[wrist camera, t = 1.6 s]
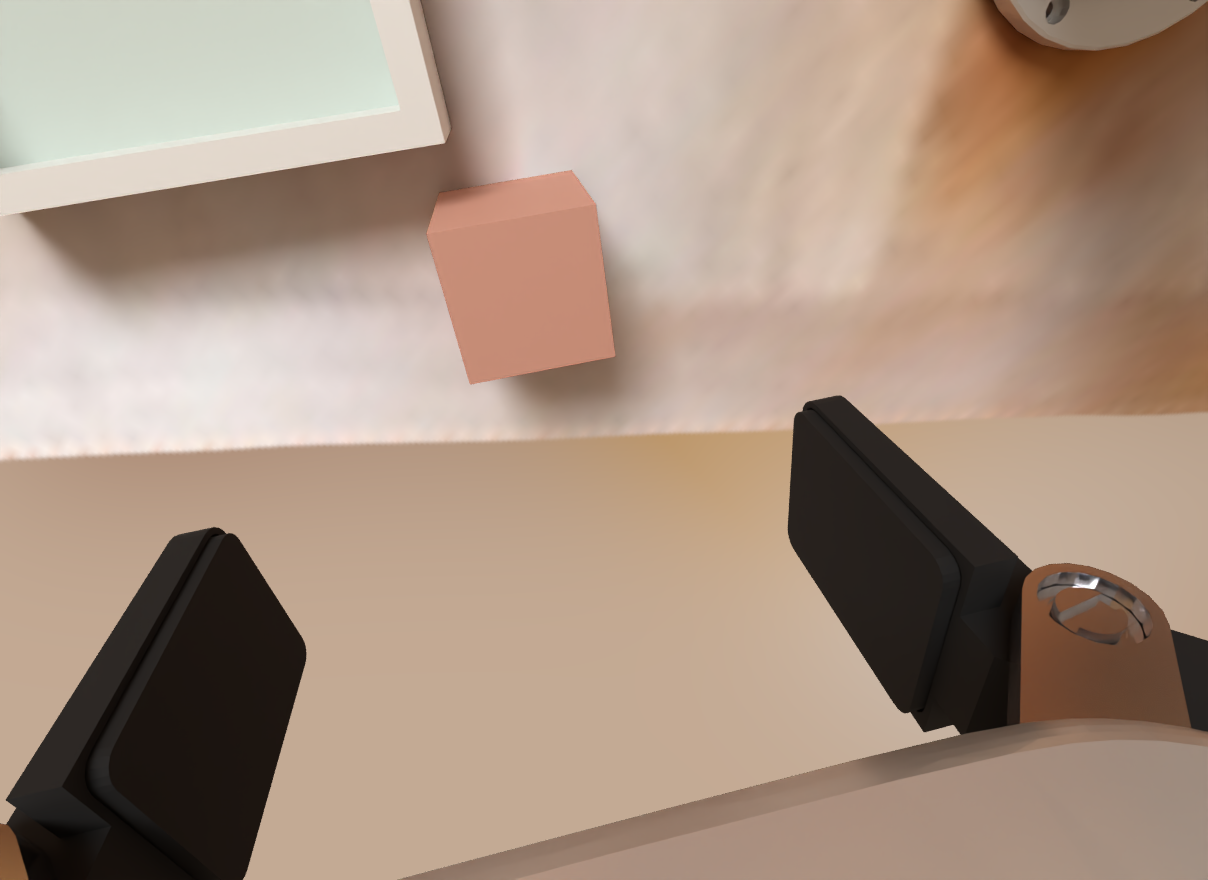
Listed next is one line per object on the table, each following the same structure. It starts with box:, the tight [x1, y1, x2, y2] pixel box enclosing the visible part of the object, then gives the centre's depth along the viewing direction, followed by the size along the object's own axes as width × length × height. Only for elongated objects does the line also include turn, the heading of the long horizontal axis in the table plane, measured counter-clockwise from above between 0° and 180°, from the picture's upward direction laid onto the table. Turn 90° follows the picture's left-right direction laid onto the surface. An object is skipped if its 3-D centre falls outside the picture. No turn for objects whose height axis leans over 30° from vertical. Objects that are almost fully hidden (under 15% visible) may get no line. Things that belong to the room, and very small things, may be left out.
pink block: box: [426, 170, 615, 384], centre depth 21 cm, size 5×5×6 cm
